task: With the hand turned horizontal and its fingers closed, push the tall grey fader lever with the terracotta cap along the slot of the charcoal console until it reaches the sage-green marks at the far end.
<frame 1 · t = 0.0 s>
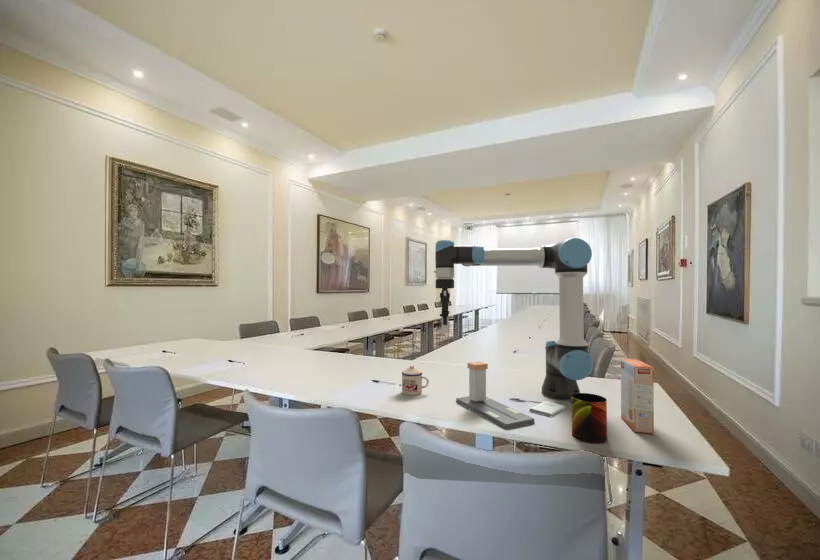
hand: (444, 331, 145), 28 cm above the table, tool pointing down, fingers open, 13 cm apart
fader lever: (477, 381, 140), point 9 cm above the table, slide at 0.0 cm
cracker box: (636, 426, 119), on the table
teacup with lid: (415, 393, 155), on the table
external hard drive: (547, 411, 134), on the table
mug: (588, 435, 111), on the table
fader console: (492, 411, 132), on the table
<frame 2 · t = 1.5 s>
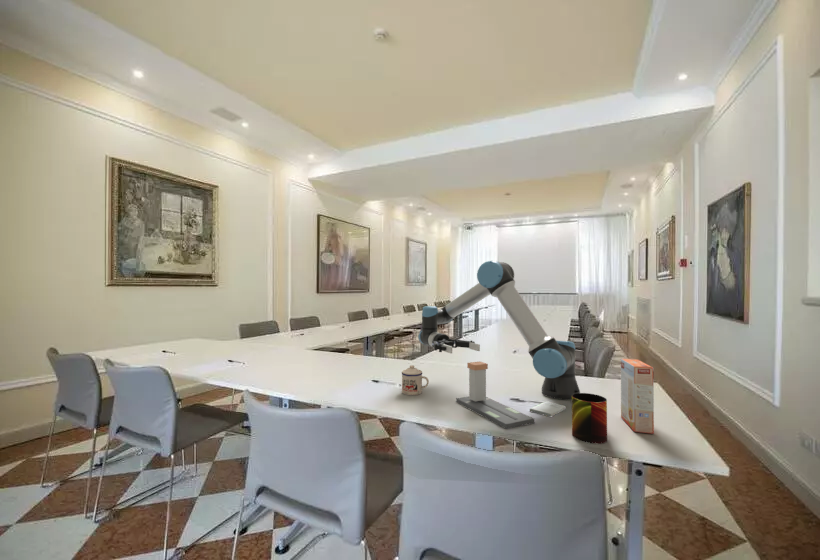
hand: (465, 349, 148), 20 cm above the table, tool horizontal, fingers open, 13 cm apart
nothing on the table moved.
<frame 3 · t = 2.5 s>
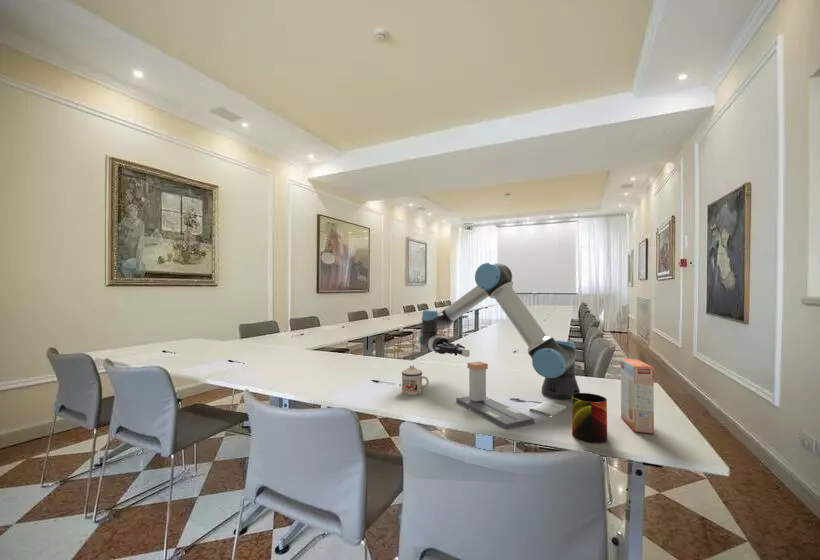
hand: (467, 353, 146), 19 cm above the table, tool horizontal, fingers closed
nothing on the table moved.
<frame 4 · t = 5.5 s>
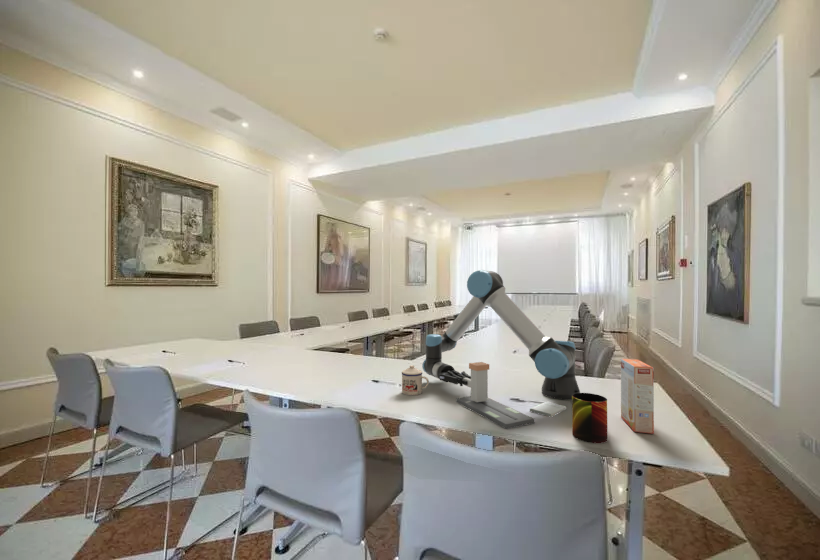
hand: (474, 384, 141), 7 cm above the table, tool horizontal, fingers closed
fader lever: (479, 381, 139), point 9 cm above the table, slide at 1.1 cm, touching gripper
everything else where it was.
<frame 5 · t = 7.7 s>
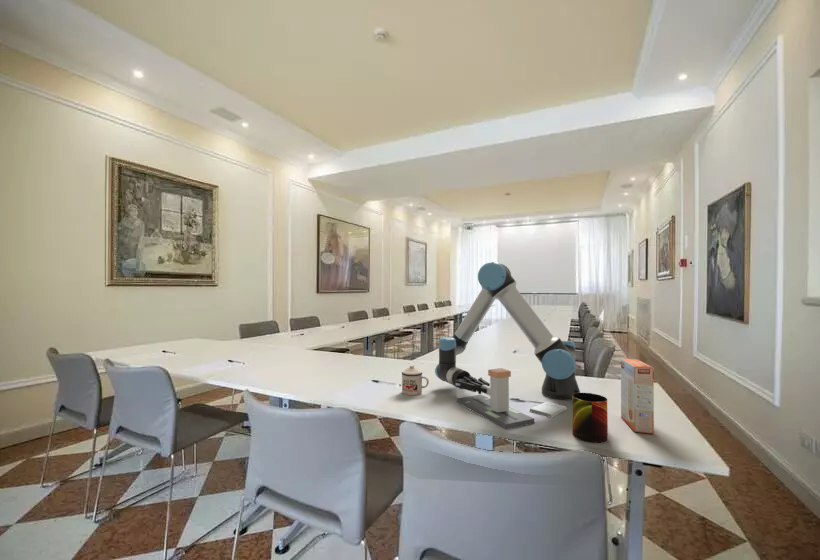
hand: (494, 393, 130), 7 cm above the table, tool horizontal, fingers closed
fader lever: (499, 390, 128), point 9 cm above the table, slide at 13.3 cm, touching gripper
everything else where it was.
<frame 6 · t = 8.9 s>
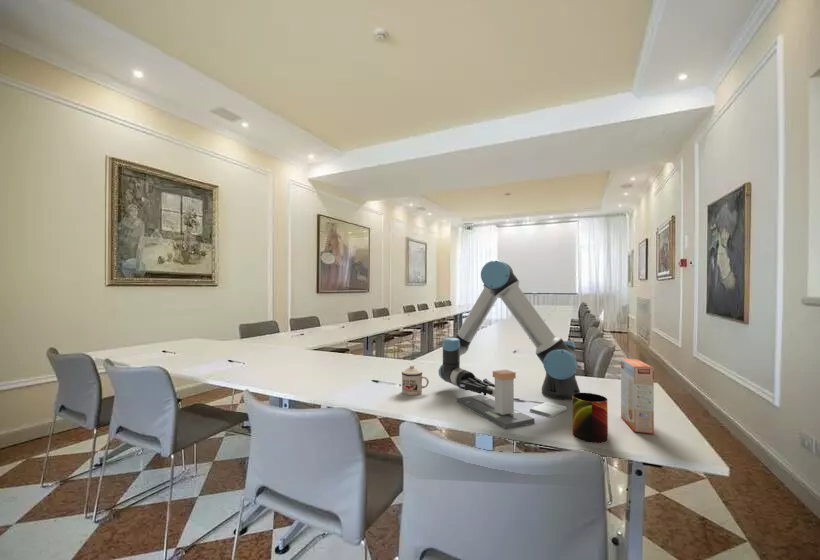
hand: (499, 394, 128), 7 cm above the table, tool horizontal, fingers closed
fader lever: (504, 391, 126), point 9 cm above the table, slide at 15.8 cm, touching gripper
everything else where it was.
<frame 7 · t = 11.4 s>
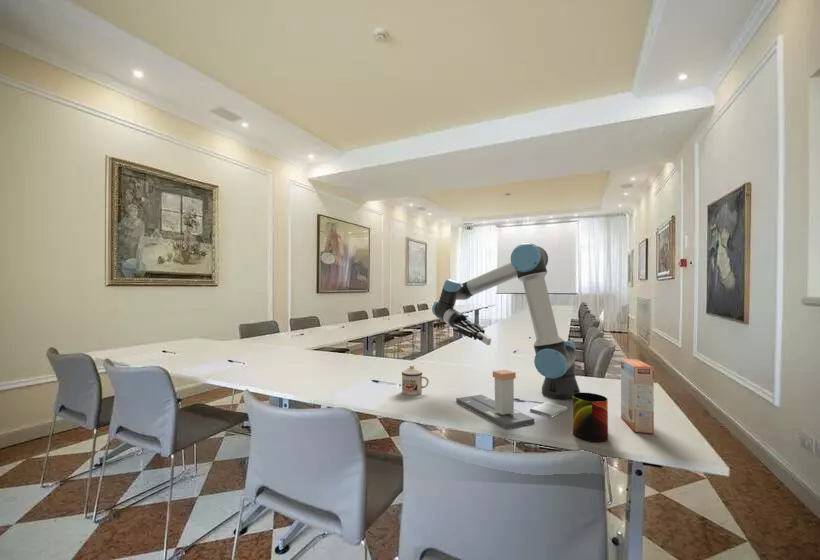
hand: (489, 341, 142), 24 cm above the table, tool tilted 75°, fingers closed
fader lever: (504, 391, 126), point 9 cm above the table, slide at 15.8 cm
everything else where it was.
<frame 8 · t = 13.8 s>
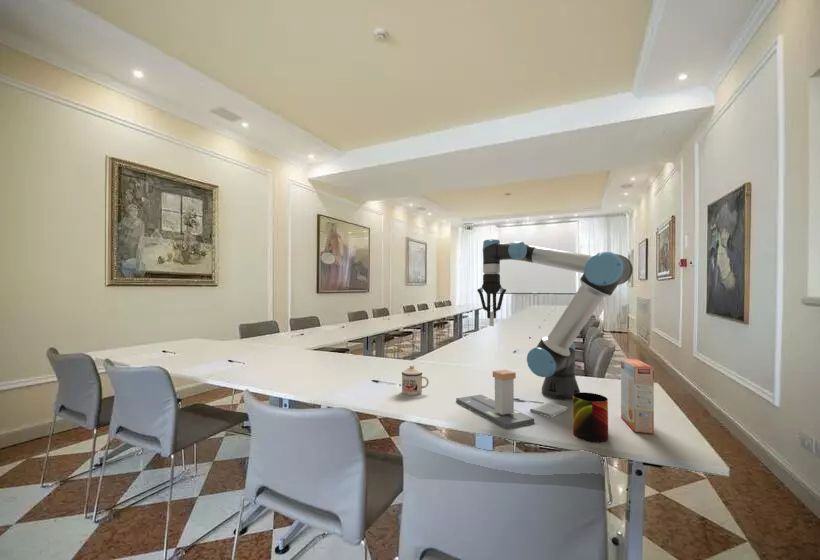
hand: (491, 325, 162), 28 cm above the table, tool pointing down, fingers closed
nothing on the table moved.
at the end: fader lever slide at 15.8 cm; mug moved 1.0 cm from its start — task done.
